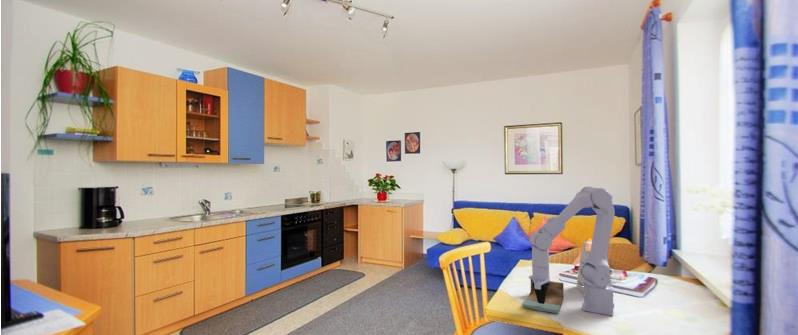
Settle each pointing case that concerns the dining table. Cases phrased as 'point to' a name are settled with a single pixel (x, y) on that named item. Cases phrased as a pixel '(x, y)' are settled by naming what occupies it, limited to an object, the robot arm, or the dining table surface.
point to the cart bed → (550, 293)
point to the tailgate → (541, 306)
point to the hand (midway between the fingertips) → (541, 302)
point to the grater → (582, 259)
